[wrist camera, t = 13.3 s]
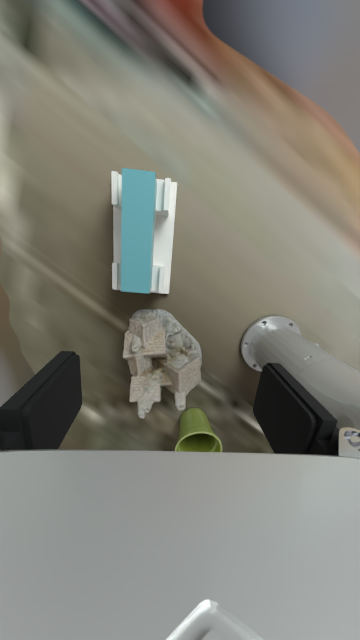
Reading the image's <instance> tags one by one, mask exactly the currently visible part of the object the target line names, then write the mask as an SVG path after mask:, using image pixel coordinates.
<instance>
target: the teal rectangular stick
mask: <svg viewBox="0 0 360 640" xmlns="http://www.w3.org/2000/svg"><path fill="white" fill-rule="evenodd" d="M156 194H157V180H156V174H155V172H150V171H142V170H135V169H127V168H122V212H121V291H124V292H136V293H148V294H149V293H150V291H151V288H152V269H153V251H154V232H155V213H156Z"/></svg>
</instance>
